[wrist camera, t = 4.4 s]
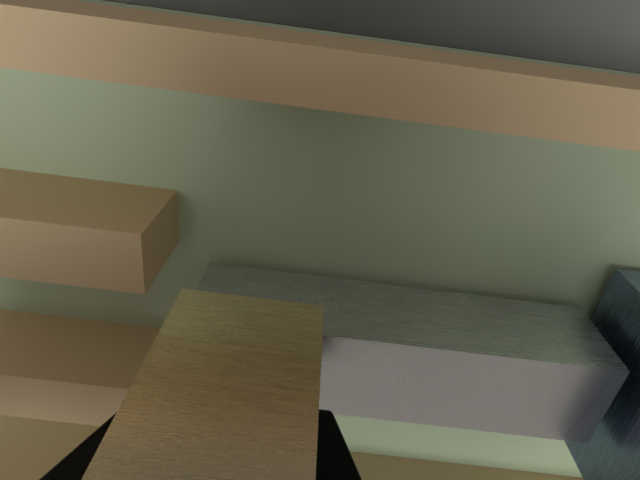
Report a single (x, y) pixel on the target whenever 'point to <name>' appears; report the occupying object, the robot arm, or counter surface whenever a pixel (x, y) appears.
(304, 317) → the tan and grey block
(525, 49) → the counter surface
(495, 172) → the pitch
